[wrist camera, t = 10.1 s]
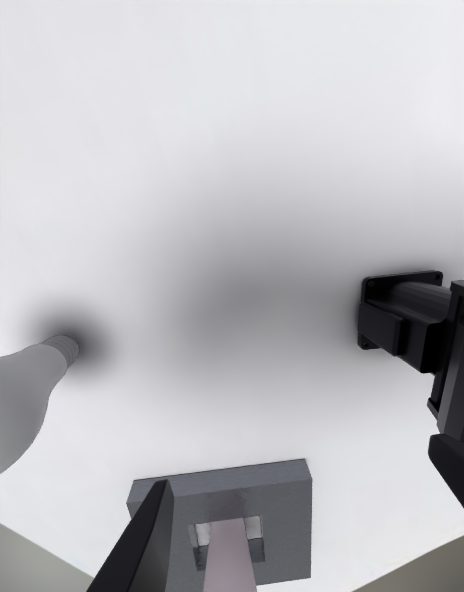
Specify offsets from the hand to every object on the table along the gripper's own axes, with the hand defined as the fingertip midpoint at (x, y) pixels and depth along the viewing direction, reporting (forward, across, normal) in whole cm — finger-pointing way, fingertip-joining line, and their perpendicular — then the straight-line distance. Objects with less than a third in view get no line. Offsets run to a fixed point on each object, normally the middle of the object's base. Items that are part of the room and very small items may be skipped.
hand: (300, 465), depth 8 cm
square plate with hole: (+12, +6, +24) cm, 27 cm away
